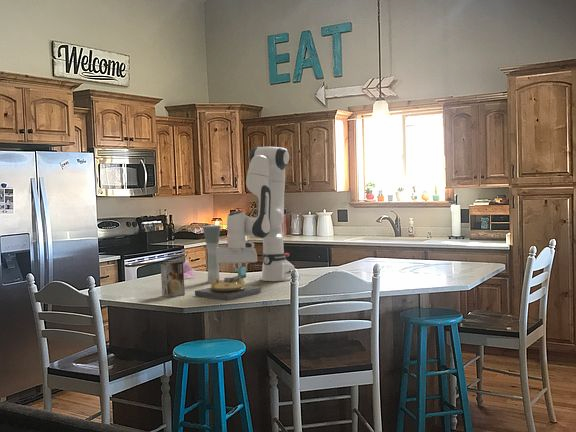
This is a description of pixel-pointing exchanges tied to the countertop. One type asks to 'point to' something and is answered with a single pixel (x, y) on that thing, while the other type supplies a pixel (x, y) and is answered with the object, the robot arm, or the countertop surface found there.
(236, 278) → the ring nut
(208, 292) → the dark grey square slab
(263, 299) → the countertop surface
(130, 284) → the countertop surface
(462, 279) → the countertop surface
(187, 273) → the lily
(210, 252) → the container
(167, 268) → the coffee box
